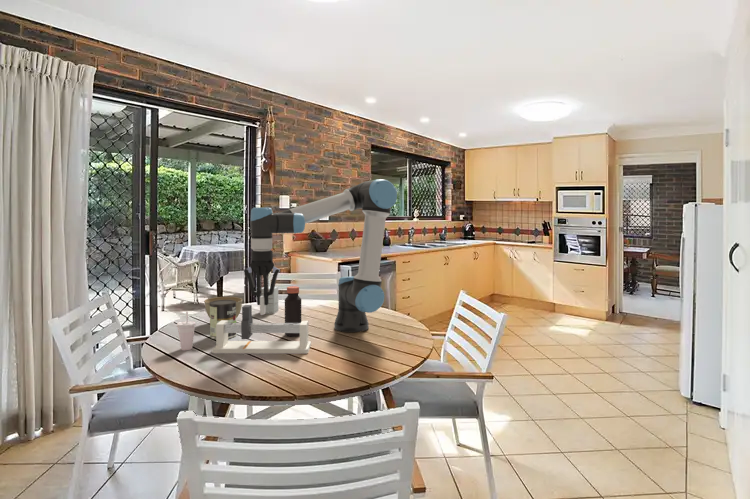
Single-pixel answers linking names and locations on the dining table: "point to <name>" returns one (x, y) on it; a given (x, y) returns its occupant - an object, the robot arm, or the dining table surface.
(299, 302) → the bottle
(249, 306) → the dark grey tall block
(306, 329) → the slider rail stand
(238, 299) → the planter bowl
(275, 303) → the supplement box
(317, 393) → the dining table surface
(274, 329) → the pipe
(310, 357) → the dining table surface
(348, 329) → the robot arm
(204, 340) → the dining table surface
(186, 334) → the smoothie
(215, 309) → the coffee can
